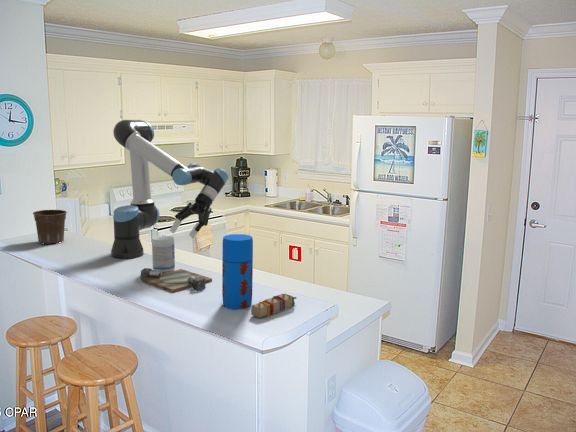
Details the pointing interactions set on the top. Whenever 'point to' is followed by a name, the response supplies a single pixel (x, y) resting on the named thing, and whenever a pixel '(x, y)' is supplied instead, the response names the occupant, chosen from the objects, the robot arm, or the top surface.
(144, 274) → the shaft
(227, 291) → the thermos
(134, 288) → the top surface
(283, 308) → the skewer
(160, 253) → the supplement tub
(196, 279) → the shaft
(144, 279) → the board
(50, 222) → the plant pot
